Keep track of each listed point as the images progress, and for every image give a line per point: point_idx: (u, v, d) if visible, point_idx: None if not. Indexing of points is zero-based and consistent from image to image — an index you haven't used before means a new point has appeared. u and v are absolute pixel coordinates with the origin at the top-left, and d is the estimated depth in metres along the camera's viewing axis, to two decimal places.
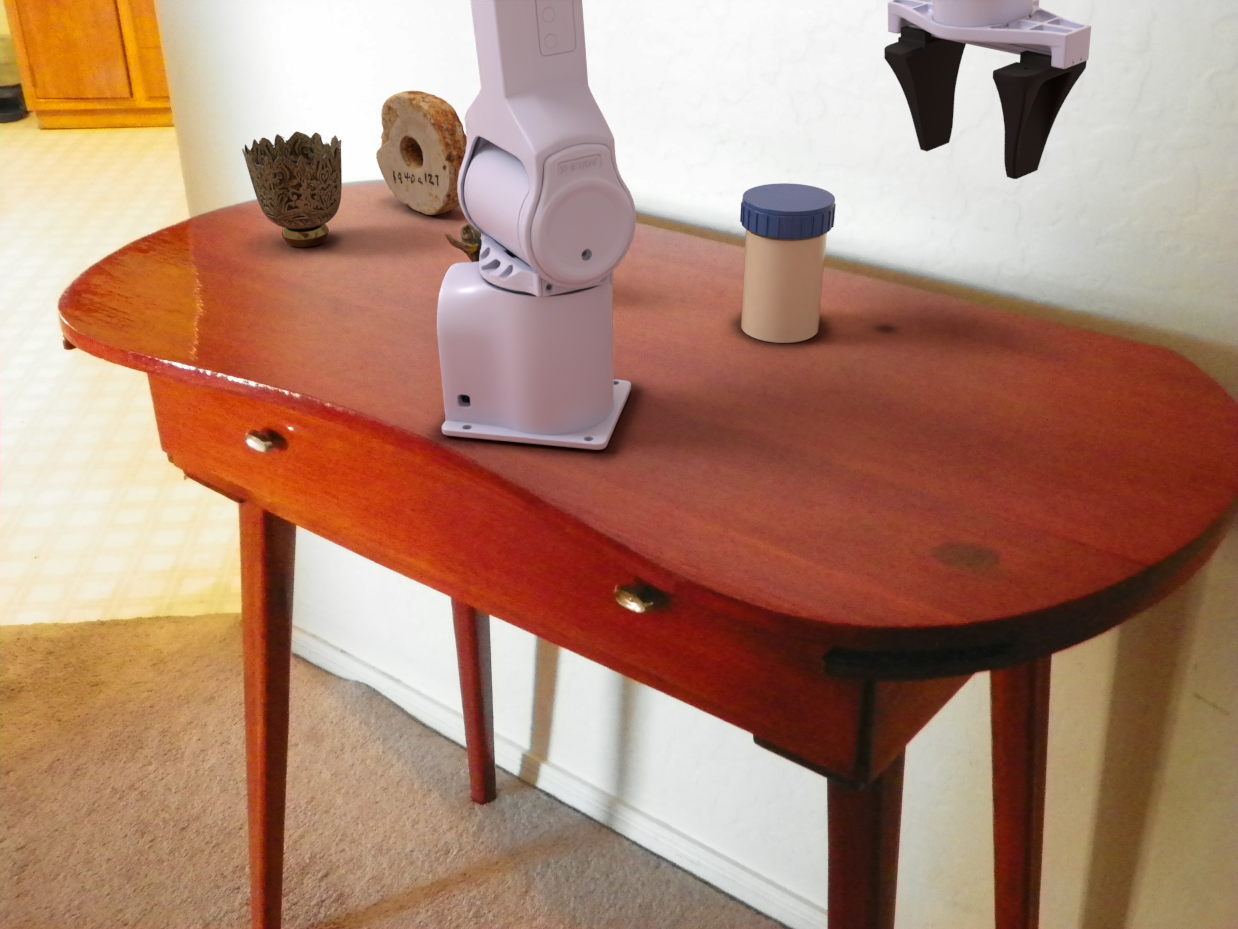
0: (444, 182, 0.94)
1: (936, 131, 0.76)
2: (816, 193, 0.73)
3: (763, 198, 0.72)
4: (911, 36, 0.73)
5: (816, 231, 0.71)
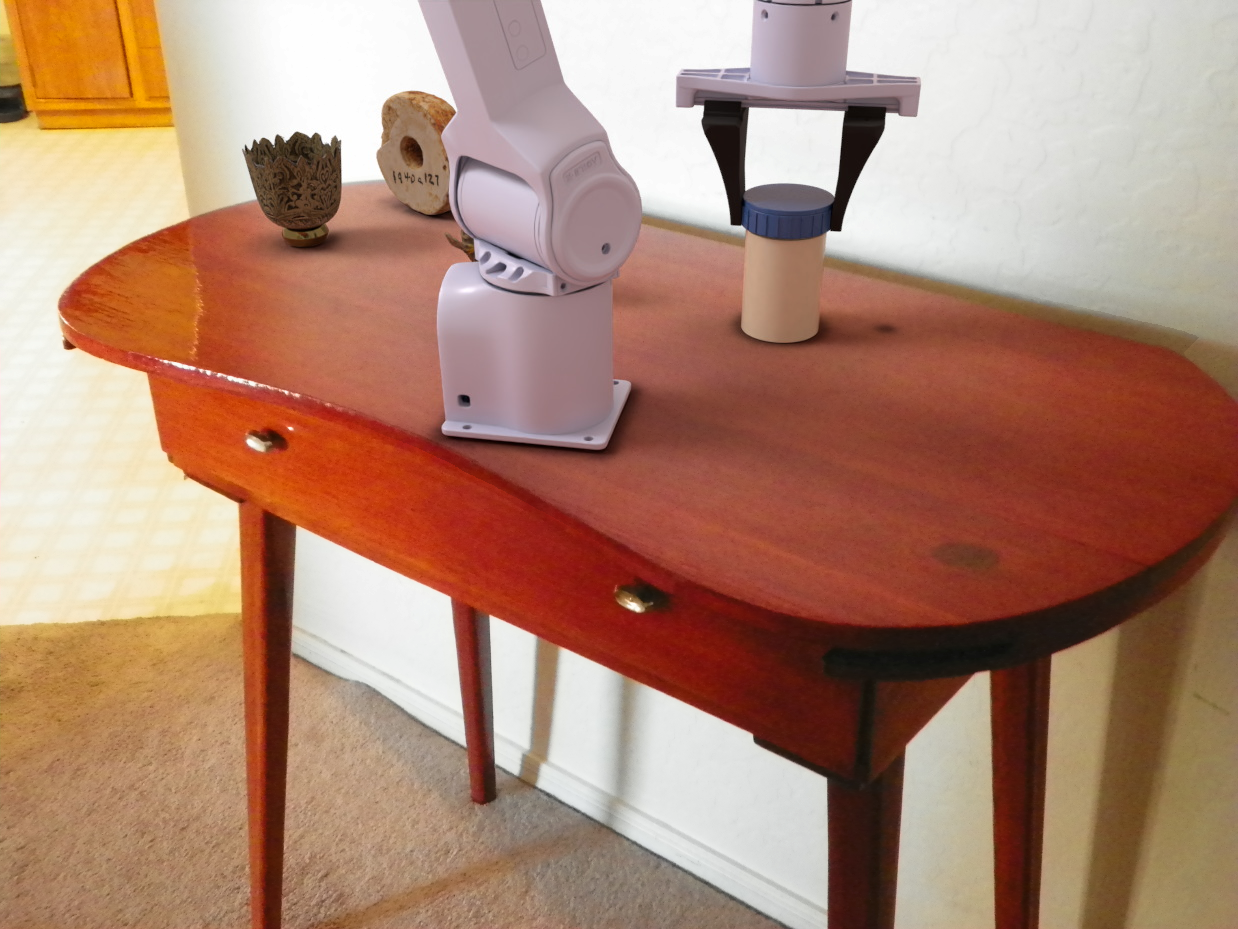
0: (444, 182, 0.94)
1: None
2: (816, 193, 0.73)
3: (763, 198, 0.72)
4: (720, 109, 0.70)
5: (816, 231, 0.71)
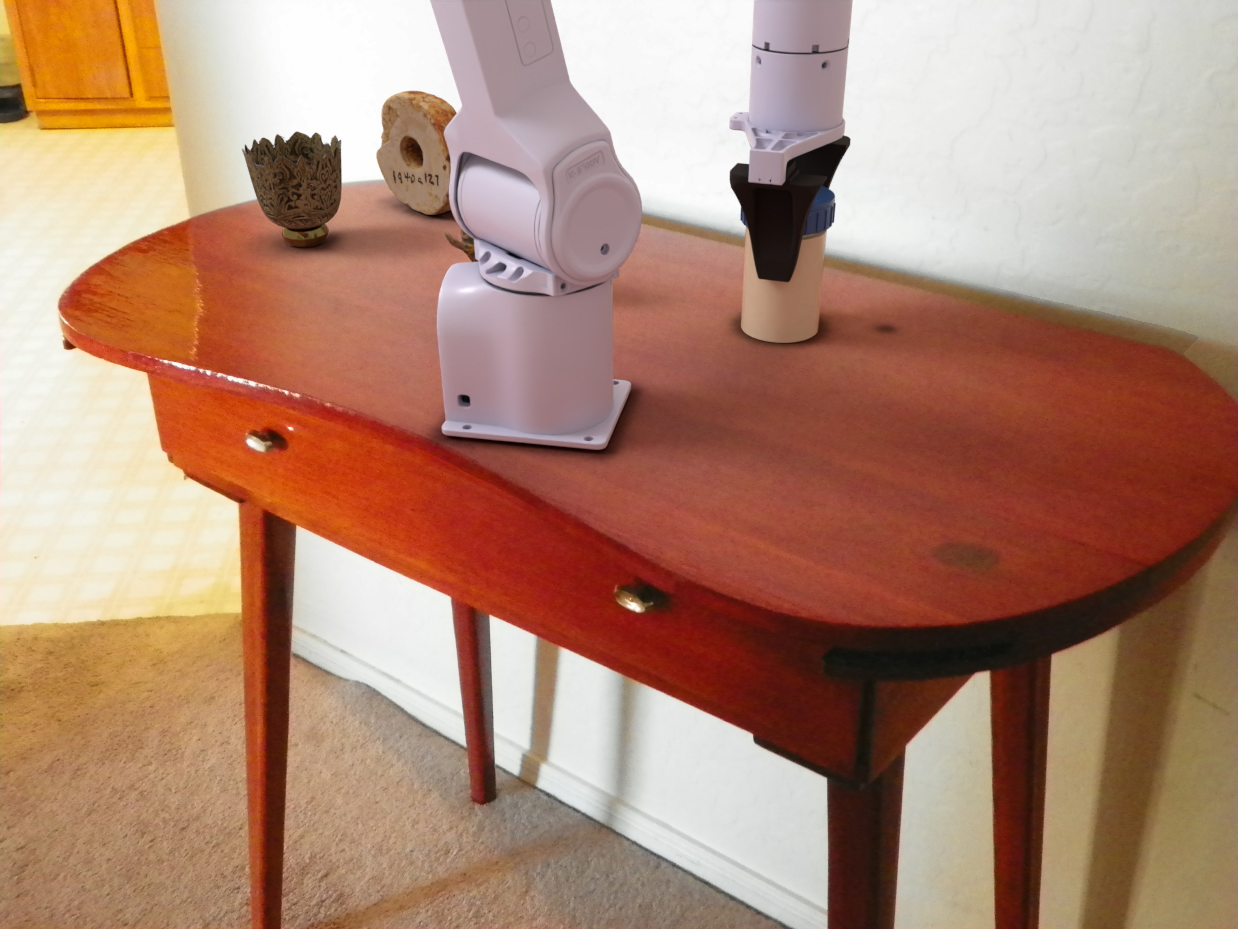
0: (444, 182, 0.94)
1: None
2: None
3: None
4: (790, 172, 0.67)
5: None
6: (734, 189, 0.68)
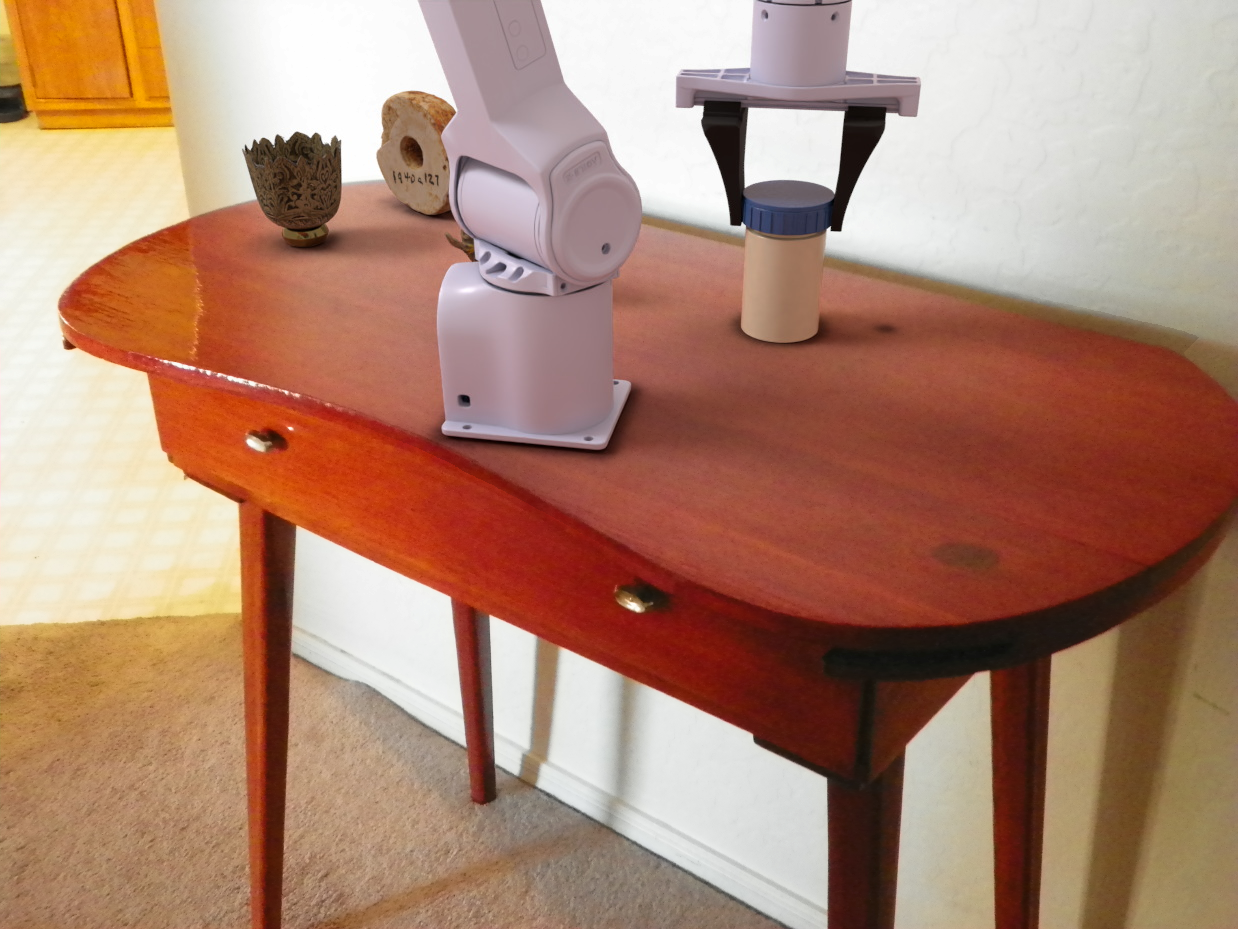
0: (444, 182, 0.94)
1: None
2: (779, 184, 0.74)
3: (792, 201, 0.71)
4: (719, 109, 0.70)
5: None
6: None
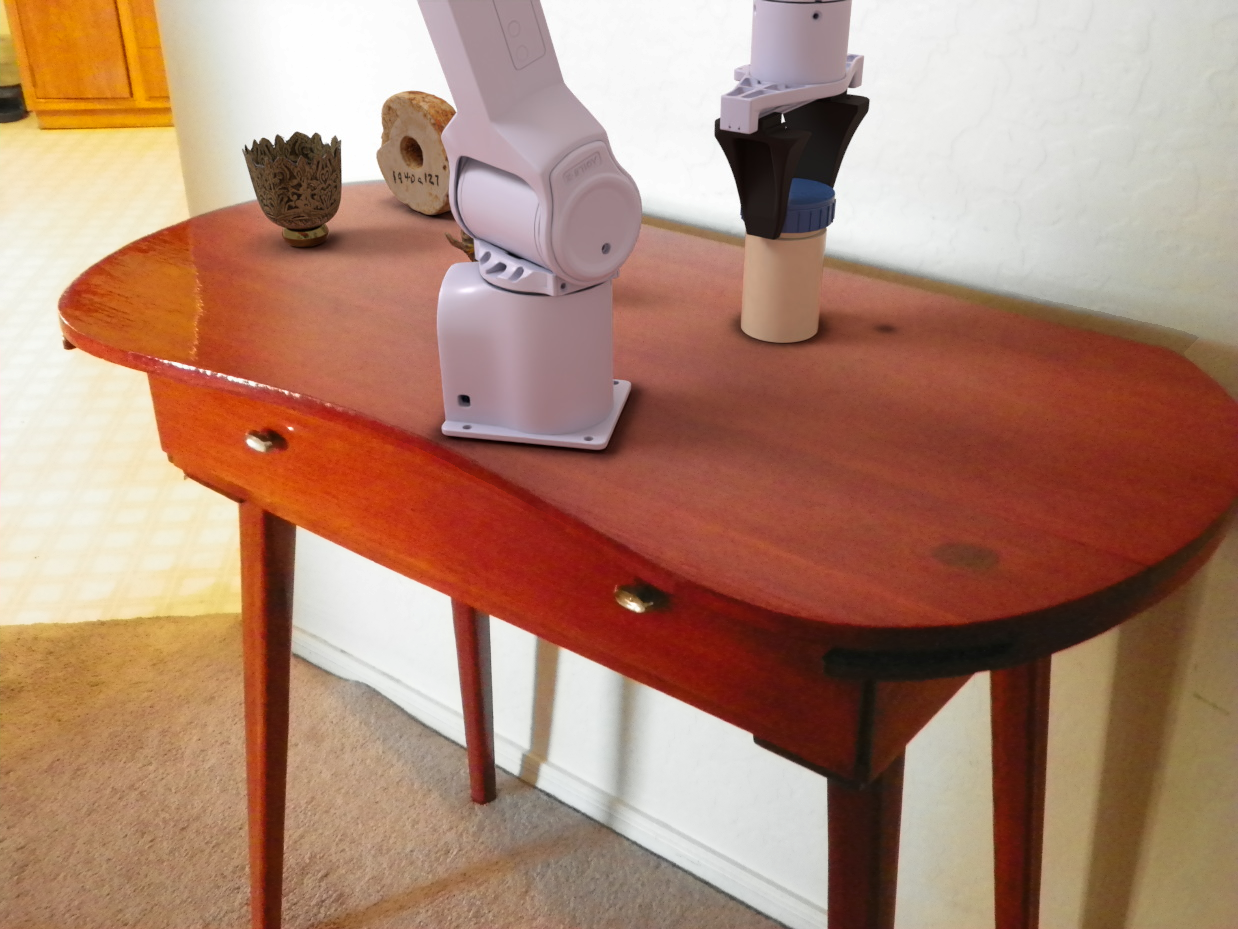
0: (444, 182, 0.94)
1: None
2: None
3: (814, 193, 0.72)
4: (771, 124, 0.66)
5: None
6: (717, 137, 0.67)
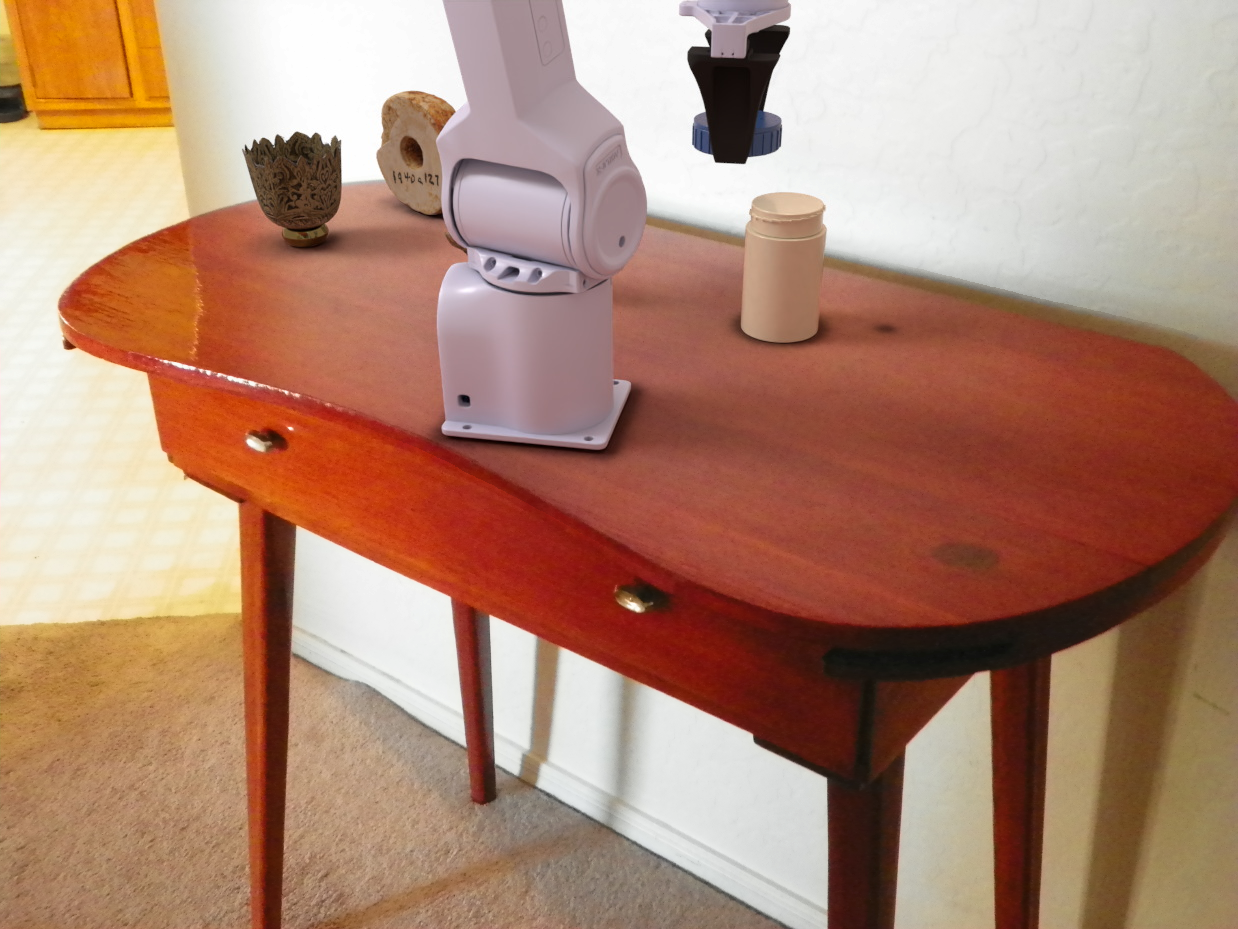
0: None
1: None
2: None
3: (762, 118, 0.76)
4: (747, 50, 0.69)
5: None
6: (693, 69, 0.70)
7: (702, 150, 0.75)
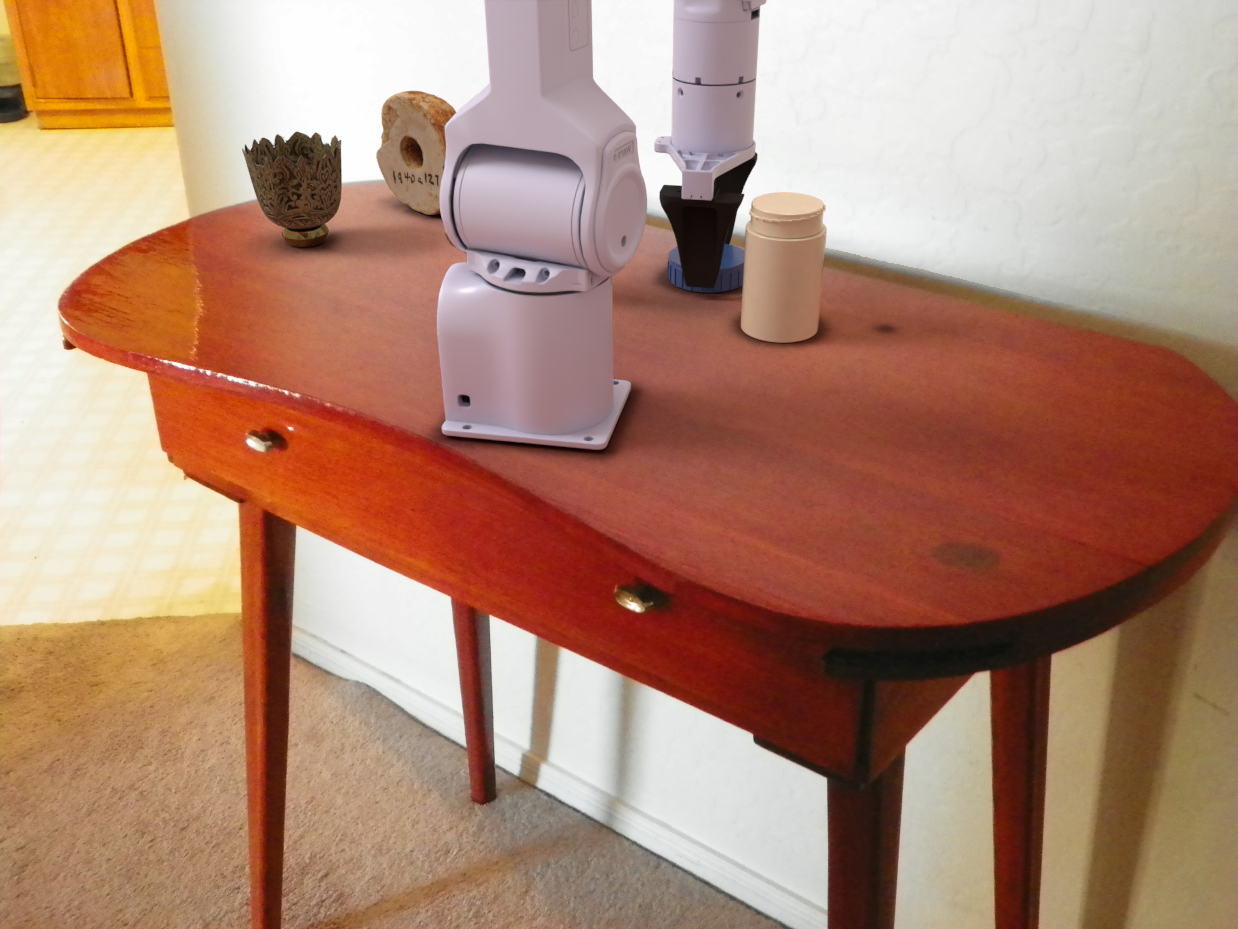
0: None
1: None
2: None
3: (730, 254, 0.84)
4: (713, 191, 0.76)
5: None
6: (664, 208, 0.76)
7: (676, 284, 0.83)
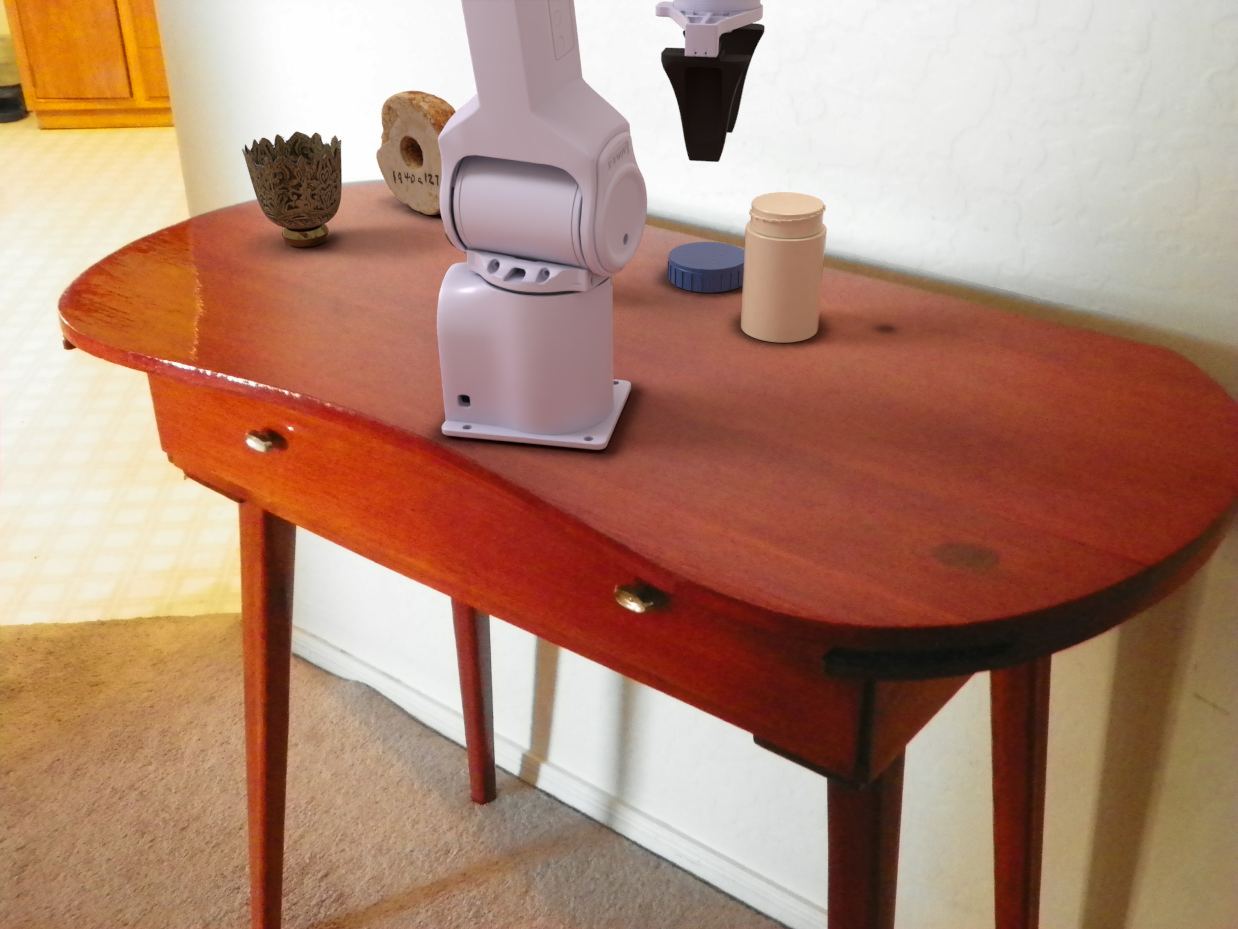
0: None
1: None
2: (682, 256, 0.83)
3: (730, 254, 0.84)
4: (718, 51, 0.71)
5: None
6: (666, 69, 0.72)
7: (676, 284, 0.83)
